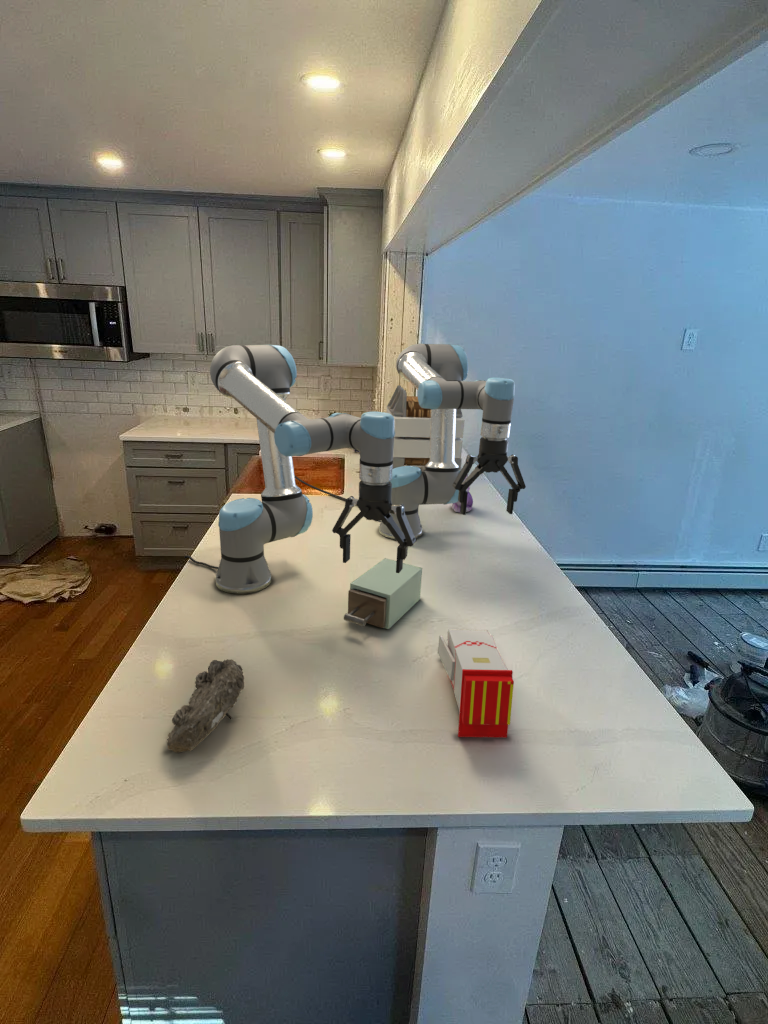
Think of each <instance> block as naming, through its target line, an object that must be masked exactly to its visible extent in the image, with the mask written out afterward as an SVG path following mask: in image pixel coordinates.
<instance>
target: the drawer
mask: <svg viewBox="0 0 768 1024" xmlns="http://www.w3.org/2000/svg"><path fill="white" fill-rule="evenodd" d="M347 593H348V597H347V613H344V615H343V620H344V621H346V622H349V623H352V624H354V625H357V626H361V627H365V626H366V624H369V625H371V626H375V627H377V628H381V629H385V628H384V627H385V624H386V603H387V600H386V598H385V597H381V596H378V595H375V594H371V593H368V592H365V591H361V590H358V589H357V591H356V590H353V589H350V588H349V589H348V592H347Z"/></svg>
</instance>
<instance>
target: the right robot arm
mask: <svg viewBox="0 0 768 1024" xmlns="http://www.w3.org/2000/svg"><path fill="white" fill-rule="evenodd" d="M395 369H396V372H397V374H398V375H399V376H400V378H401V379H403V381H406V382H408V383H411V385H412V386H413V387H414V388H415V389H416V390H417V396H418V401H419V405H420V407H422V408H426V409H431V426H430V461H429V462H428V463H427V464H426V465H425V466H424V470H422V469H421V467H420V466H407V465H404V466H401V467H397V468H394V469H393V470H392V480H391V481H390V482H391V483H392V492H391V503H392V505H400V504H404V509H405V515H406V517H407V520H408V522H409V524H410V527H411V529H412V532H413V534H414V536H415V539H418V538H420V537H421V536H422V535H423V525H422V524H421V518H420V515H419V507H420V506H422V505H423V506H424V505H449V504H450V505H451V504H453V503H456V502H457V501H459V502H460V503H461V507H460V512H459V513H460V514H461V515H462V516H467V515H466V514H467V512H466V506H467V495H468V492H467V491H466V489H467V488H468V487H469V486H470V487H471V485H472V484H474V482H475V481H476V480H477V479H478V478H479V477H480V476H481V475H483V474H484V473H488V474H489V473H494V474H495V473H498V472H500V474H501V475H502V476H503V477H504V479H505V480H506V482H507V484H509V486H510V487H511V488H509V489H508V493H507V494H508V495H507V503H506V513H508V514H509V515H513V513H514V505H515V503H516V502H517V501H518V497H519V493H520V492H521V490H525V489H526V487H527V486H526V483H525V481H524V477H523V475H522V472H521V468H520V466H519V457H518V456H517V455H515V454H511V455H507V454H508V449H509V440H508V438H510V432H511V426H512V425H511V423H512V417H513V416H512V415H513V409H514V408H513V407H514V401H515V396H516V393H515V391H516V390H515V387H516V383H515V381H514V380H513V379H511V378H506V377H489V378H487V380H486V379H483V380H482V379H476V380H473V381H472V380H471V381H469V380H466V379H467V378H468V373H469V360H468V355H467V352H466V350H465V348H464V347H462V346H461V345H457V344H450V343H448V344H447V343H446V344H445V343H444V344H443V343H415V344H411V345H409V346H407V347H405V348H403V350H402V351H400V353H399V354H398V356H397V358H396V362H395ZM456 409H461V410H482V416H481V417H482V418H481V426H480V434H479V435H480V436H481V437H480V438H479V446H478V455H476V456H475V455H471V454H469V453H468V454H467V455H466V458H465V462H464V464H463V466H462V467H461V471H460V470H458V465H457V464H456V463H455V461H454V455H455V424H456ZM476 462H477V465H476V466H475V467H474V469H473V471H471V469H472V467H473V465H474V464H475V463H476ZM507 463H509V464H510V467H511V469H512V472H513V476H514V477H515V478H514V479H515V480H516V482H515V480H514V479H513V478H512V476H511V475H510V473H509V472H508V470H507V468H506V467H505V465H506V464H507ZM470 471H471V473H470ZM469 473H470V474H469ZM467 474H468V477H467V478H466V479H465V477H466V476H467ZM464 479H465V480H464ZM295 480H297V481H299V482H300V483H302V484H303V485H305V486H308V487H309V488H311V489H313V490H316V491H319V492H320V493H323V494H326V495H328V496H332V497H334V498H337V499H339V500H343V501H346V499H347V498H346V497H343V496H340V495H337V494H334V493H331V492H329V491H327V490H325V489H322V488H318V487H317V486H314V485H312V484H310V483H308V482H306V481H304V480H303V479H301V478H299V477H298V476H297V475H295ZM389 513H390V514H391V516H392V517H393V520H394V521H395V523H396V524H397V526H398V527H399V528H400V530H401V531H402V529H401V526H400V524H399V521H398V519H397V515H396V514H394V511H393V510H391V511H390V512H389ZM378 533H379V534H380V535H381V536H382V537H385V538H387V539H389V540H395V541H397V540H396V539H395V537H394V536H393V535H392V533H391V532H390V530H389V529H388V528H387V526H386V525H384V524H383V522H382V521H380V522H379V526H378ZM402 533H403V531H402ZM403 534H404V533H403Z"/></svg>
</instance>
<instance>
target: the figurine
mask: <svg viewBox="0 0 768 1024" xmlns="http://www.w3.org/2000/svg"><path fill="white" fill-rule="evenodd" d="M468 476H469V473H468V474H467V476H466V477H465V479H466V478H467V477H468ZM465 479H464V480H465ZM470 489H471V485H470V486H469V487H468V488H467V489H466V491H467V492H468V495H467V506H466V513H468V512H470V511H471V510H472V509H473V505H474V499H473V496H472V494H471V492H470ZM460 507H461V503H460V502H459V501H457V502H456V503H452V506H451V509H452V510H453V512H456V513H461V512H460Z"/></svg>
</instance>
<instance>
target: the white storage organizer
mask: <svg viewBox="0 0 768 1024" xmlns="http://www.w3.org/2000/svg"><path fill="white" fill-rule="evenodd" d="M407 394H408V393H407V390H406V389H404V388H403V387H402V385H399V384H398V385H397V386H396V388H395V390H394V392H393V394H392V395H391V398H390V400H389V402H388V404H387V405H386V412H385V413H389V414H391V415H392V416H393V417H394V430H395V436H394V449H393V469H394V468H397V467H401V466H416V467H425V465H426V464H427V463H428V462H429V461H430V426H431V409H426V408H422V407H420V405H419V401H418V395H417V396H415V395H414V396H413V395H412V396H411V395H407ZM464 429H465V419H464V418H463V411H462V409H456V424H455V455H454V461H455V463H456V464H457V465H458V470H460V471H461V469H462V461H463V460H462V453H463V442H464V441H463V440H462V439H463V438H464V431H465V430H464Z"/></svg>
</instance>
